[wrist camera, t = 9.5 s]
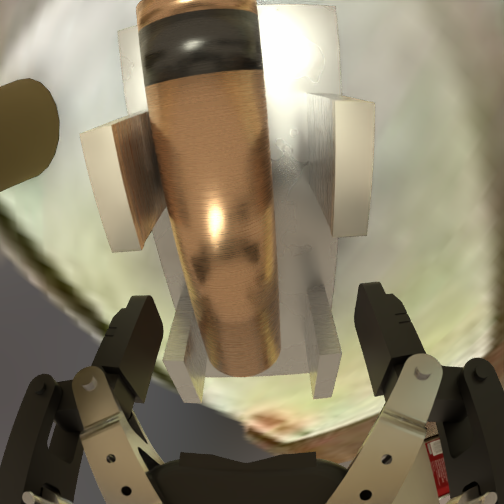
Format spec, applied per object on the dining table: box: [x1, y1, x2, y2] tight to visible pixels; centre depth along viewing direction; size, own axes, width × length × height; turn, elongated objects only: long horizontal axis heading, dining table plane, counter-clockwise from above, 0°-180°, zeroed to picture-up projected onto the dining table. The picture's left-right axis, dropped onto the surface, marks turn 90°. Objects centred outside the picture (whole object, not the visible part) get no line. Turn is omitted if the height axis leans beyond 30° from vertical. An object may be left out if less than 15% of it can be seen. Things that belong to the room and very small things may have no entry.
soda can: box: [424, 436, 450, 500], centre depth 32 cm, size 7×7×12 cm
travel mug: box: [392, 440, 440, 504], centre depth 24 cm, size 8×8×18 cm
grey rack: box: [80, 4, 375, 403], centre depth 13 cm, size 9×22×6 cm, turn 5°
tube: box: [136, 0, 281, 377], centre depth 11 cm, size 16×4×4 cm, turn 5°
